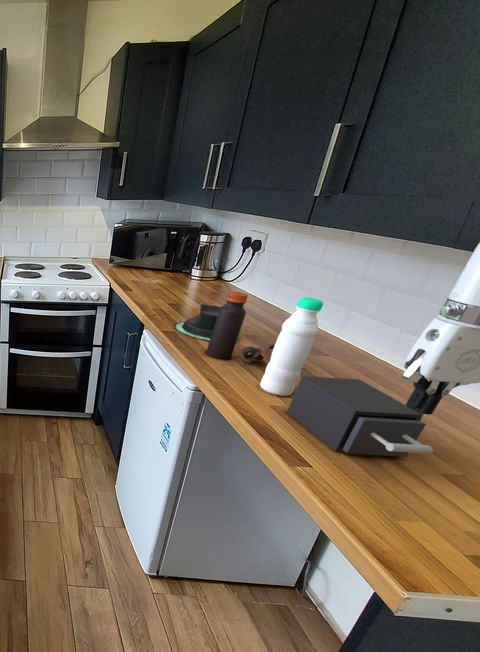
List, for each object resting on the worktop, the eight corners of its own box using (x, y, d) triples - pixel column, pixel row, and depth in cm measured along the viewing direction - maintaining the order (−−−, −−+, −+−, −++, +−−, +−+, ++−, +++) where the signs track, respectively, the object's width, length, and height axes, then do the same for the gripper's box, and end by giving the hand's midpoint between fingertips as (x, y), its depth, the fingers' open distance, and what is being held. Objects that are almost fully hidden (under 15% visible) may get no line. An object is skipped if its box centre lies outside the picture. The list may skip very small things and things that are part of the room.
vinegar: (225, 361, 121) (247, 298, 113) (202, 354, 126) (221, 292, 118) (234, 356, 125) (255, 294, 117) (211, 349, 130) (230, 289, 122)
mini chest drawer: (431, 474, 75) (454, 439, 72) (368, 470, 76) (387, 435, 72) (350, 418, 92) (365, 388, 89) (299, 415, 92) (312, 385, 89)
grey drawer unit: (399, 455, 82) (423, 415, 78) (335, 451, 82) (356, 411, 78) (341, 415, 95) (359, 379, 91) (286, 412, 96) (302, 376, 91)
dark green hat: (172, 316, 157) (229, 324, 152) (172, 353, 146) (232, 363, 141) (185, 288, 145) (247, 296, 140) (186, 326, 134) (253, 336, 129)
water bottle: (256, 389, 105) (291, 298, 95) (262, 381, 110) (296, 293, 100) (288, 400, 101) (328, 305, 91) (293, 391, 106) (332, 299, 95)
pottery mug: (267, 362, 123) (290, 346, 117) (274, 386, 118) (298, 371, 111) (231, 349, 123) (251, 333, 117) (235, 373, 118) (257, 357, 111)
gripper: (452, 319, 62) (394, 419, 69) (552, 325, 62) (483, 425, 69) (406, 305, 69) (358, 397, 76) (495, 310, 68) (438, 402, 76)
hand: (417, 410), depth 73 cm, fingers closed
